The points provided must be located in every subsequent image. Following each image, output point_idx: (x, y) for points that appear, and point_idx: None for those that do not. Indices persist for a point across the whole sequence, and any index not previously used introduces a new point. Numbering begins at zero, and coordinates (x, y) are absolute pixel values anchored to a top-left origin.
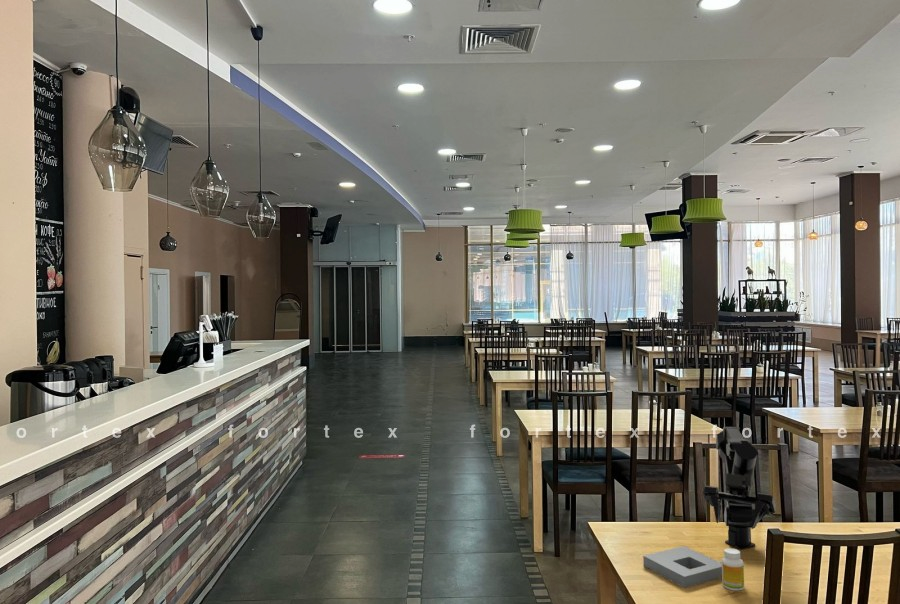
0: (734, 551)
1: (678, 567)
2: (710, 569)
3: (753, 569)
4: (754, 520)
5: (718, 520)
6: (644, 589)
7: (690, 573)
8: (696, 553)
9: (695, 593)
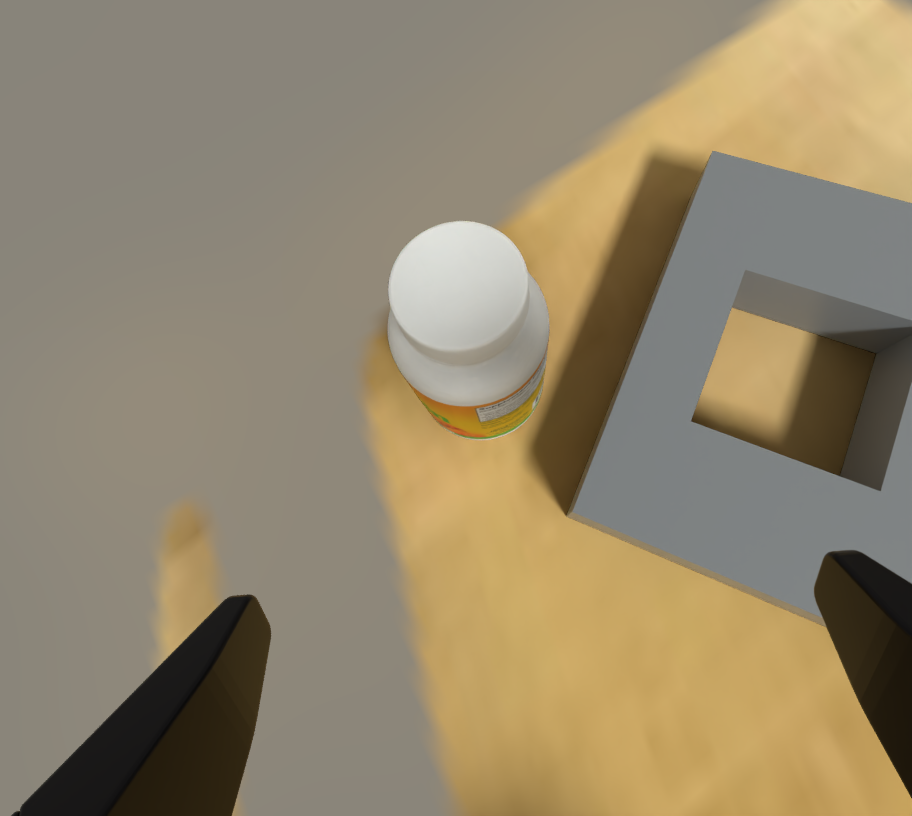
0: (434, 282)
1: (822, 250)
2: (633, 359)
3: (463, 757)
4: (140, 700)
5: (841, 624)
6: (846, 46)
7: (707, 215)
8: None
9: (613, 176)
